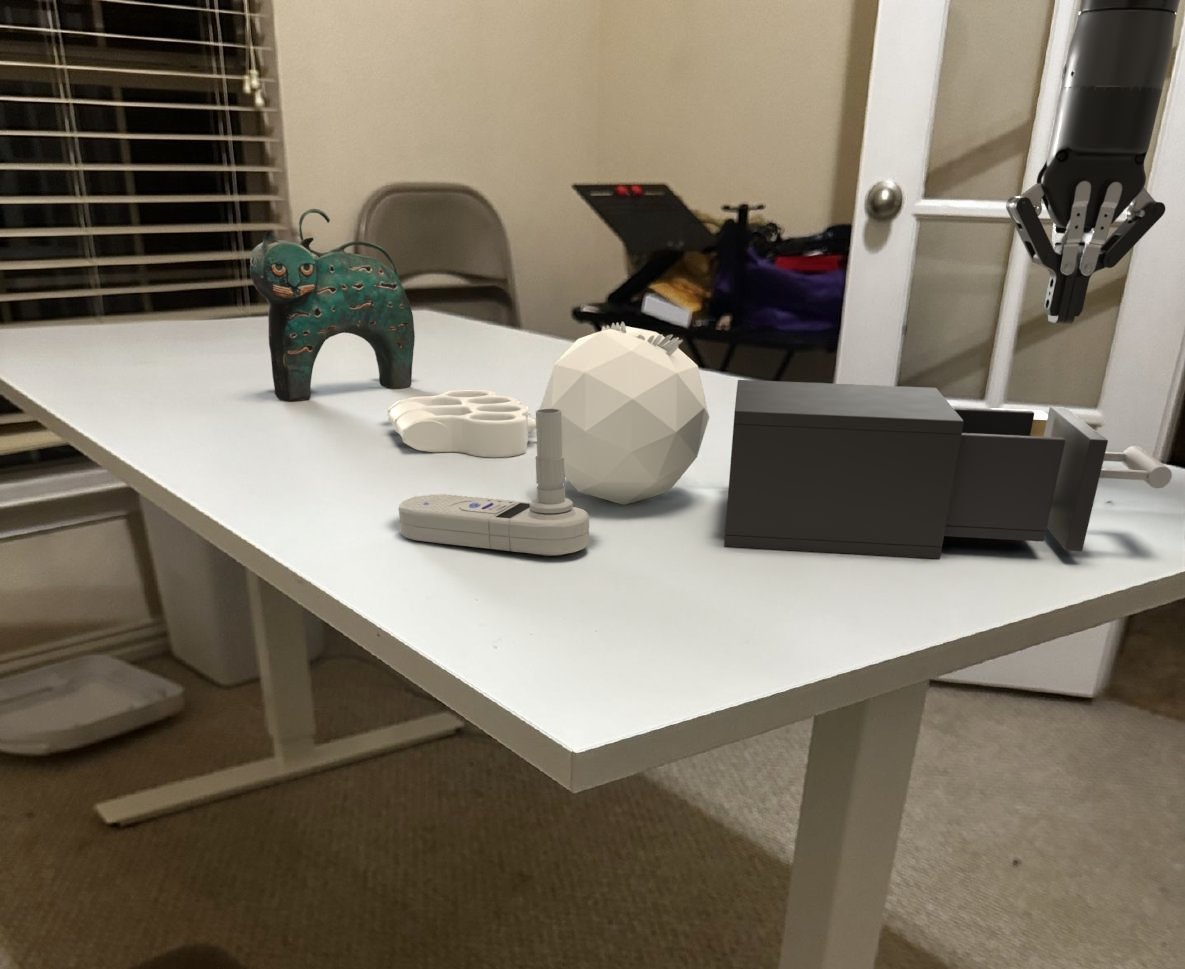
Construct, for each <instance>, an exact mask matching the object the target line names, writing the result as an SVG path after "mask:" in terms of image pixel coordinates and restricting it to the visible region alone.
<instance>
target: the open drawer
mask: <svg viewBox="0 0 1185 969" xmlns="http://www.w3.org/2000/svg"><path fill="white" fill-rule="evenodd" d="M952 408H953V409H954V410H955V411H956V412H957V414H958V415H959V416H960V417H961V419H962V420H963V421H964V423H963V429H962V434H961V441H960V447H959V452H958V458H957V464H956V470H955V476H954V481H953V487H952V493H951V499H950V504H949V510H948V516H947V522H946V527H945V533H944V537H953V538H970V539H988V540H990V539H991V540H1005V541H1007V540H1008V541H1025V542H1026V541H1027V542H1028V541H1029V542H1044V541H1045V537H1046V533H1047V530H1048V531H1049V533H1051V535H1052V536H1053V537H1054V538H1055V540H1056V541H1057V542H1058V543H1059V545H1060V546H1061V547H1062V548H1063V549H1064V550H1065V551H1068V552H1083V549H1084V545H1085V541H1086V536H1087V533H1088V529H1089V528H1088V527H1089V524H1090V520H1091V517H1092V516H1091V514H1092V511H1093V507H1094V502H1095V499H1096V494H1097V490H1098V485H1099V483H1100V482H1099V481H1100V479H1112V480H1113V479H1114V480H1131V481H1132V480H1133V481H1134V480H1135V481H1143V482H1145V484H1147V485H1149V486H1150V487H1151V488H1153V489H1163V488H1165V487H1166V486H1167V485H1169V484H1170V482H1171V481H1172V479H1173V478H1172V477H1173V472H1172V470H1171V469H1170V468H1169V467H1168V466H1166V465H1165V464H1164V463H1162V462H1161V461H1159V459H1158V458H1157V459H1156V458H1155V457H1154V456H1153V455H1151V454H1149V453H1148V452H1147V451H1145V450H1144V449H1143V448H1142V447H1140V446H1138V445H1132V446H1129V447H1127V448H1125V450H1124V451H1123V452H1122V451H1121V452H1118V451H1107V447H1108V443H1109V439H1107V438H1106V437H1104V435H1102V434H1101V433H1099V432H1098V431H1097V430H1095V428H1093V427H1091V425H1089V424H1088V423H1087V422H1085V421H1084V420H1082V419H1081V418H1080V417H1078V416H1077V415H1076V414H1075V413H1074V412H1072V411H1070V410H1069V409H1068V408H1066V407H1065V406H1049V409H1048V413H1047V415H1048V418H1047V423H1046V428H1045V432H1044V437H1040V436H1030V434H1031V429H1032V424H1033V419H1034V414H1035V413H1034V412H1033V411H1022V410H1023V409H1017V410H999V409H1000V408H994V409H990V408H974V407H971V408H970V407H953V406H952ZM1104 462H1115V463H1116V462H1119V463H1122V464H1123V465H1124V466H1125V467H1126V468H1127V469H1125V468H1123V469H1122V468H1106V467H1105V468H1103V464H1104Z"/></svg>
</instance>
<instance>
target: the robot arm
mask: <svg viewBox="0 0 1185 969" xmlns="http://www.w3.org/2000/svg"><path fill="white" fill-rule="evenodd" d="M1180 1H1181V0H1080V4H1079V9H1078V15H1077V17H1076V18H1077V19H1076V22H1075V26H1074V29H1073V32H1072V35H1071V38H1070V41H1069V45H1068V48H1067V52H1066V56H1065V57H1066V58H1065V61H1064V65H1063V68H1062V70H1061V75H1060V86H1059V92H1058V98H1057V102H1056V108H1055V111H1054V112H1055V113H1054V117H1053V123H1052V128H1051V132H1050V133H1051V134H1050V138H1049V143H1048V149H1047V156H1046V160H1045V163H1044V164H1043V166H1042V167H1041V169H1040V170H1039V172H1038V174H1037V177H1036V183H1034V185H1032V186H1030V187H1029V188H1028V189H1027V190H1025V191H1024V192H1023V193H1022V194H1020V195H1017V196H1014V195H1013V196H1011V197H1010V198H1008V199H1007V201H1006V203H1005V209H1006V211H1007V213H1008V215H1009V218H1010V219H1011V222H1012V224H1013V225H1014V227H1015V229H1016V231H1017V234H1018V236H1019V238H1020V240H1021V242H1022V244H1023V246H1024V248H1025V250H1026V252H1027V254H1028V257H1029V258H1030V261H1031V262H1032V263H1034V264H1035V265H1038V266H1041V267H1042V268H1044V269H1046V270H1047V271H1048V272H1049V273H1048V274H1049V278H1048V283H1047V288H1046V293H1045V299H1044V303H1043V313H1044V315H1047V321H1048V322H1050V323H1052V324H1062V325H1063V324H1065V325H1072V324H1073V323H1074V322H1075V318H1076V317H1080V315H1081V313H1082V312H1083V310H1084V305H1085V302H1086V296H1087V292H1088V287H1089V282H1090V279H1091V277H1092V275H1093V274H1094V273H1096V272H1099V271H1101V270H1103V269H1112V268H1114V267H1115V266H1116V265H1118V263H1119V262H1120V261H1122V259H1123V258H1124V257H1125V256H1126V255H1127V254H1128V253H1129V252H1130V251H1131V250H1132V248H1134V247H1135V245H1136V244H1137V243H1138V242H1139V241H1140V240H1141V239H1142V238H1143V237H1144V236H1145V235H1146V234H1147V233H1148V232H1149V231H1150V229H1152V228H1153V227H1154V225H1155V224H1156V223H1157V222H1158V221H1159V220H1160V219H1161V218H1162V217H1163V216H1164V214H1165V212H1166V205H1165V203H1164V202H1161V201H1156V200H1155V199H1154V198H1153V197H1152V196H1151V194H1150V193H1149V191H1148V190H1147V189H1146V188H1145V185H1146V181H1147V175H1146V170H1145V160H1146V157H1147V154H1148V152H1149V148H1150V144H1151V141H1152V137H1153V132H1154V127H1155V123H1156V118H1157V114H1158V111H1159V107H1160V103H1161V98H1162V94H1163V88H1164V84H1165V81H1166V77H1167V72H1168V68H1169V64H1170V60H1171V56H1172V51H1173V42H1174V35H1175V34H1174V33H1175V26H1176V20H1177V13H1178V10H1179V5H1180ZM1042 203H1043V204H1044V207H1045V209H1046V211H1047V214H1048V216H1049V219H1050V221H1051V222H1052V223H1053V224H1052V230H1051V240H1050V238H1049V236H1048V234H1047V232H1046V230H1045V228H1044V226H1043V224H1042V222H1041V219H1040V218H1039V216H1041V213H1042V211H1043V206H1042ZM1125 210H1126V212H1125V218H1126V219H1125V220H1123V221H1122V222H1121V224H1120V225H1119V226H1118V227H1117V228H1116V229H1115V230H1114V231H1113V232H1112V233H1111V234H1110V236H1109V232H1110V229H1111V225H1112V224H1114V222H1116V220H1118V218H1119V217H1120V216H1121V215H1122V214H1123V212H1124V211H1125Z"/></svg>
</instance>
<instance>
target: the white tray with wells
mask: <svg viewBox="0 0 1185 969" xmlns="http://www.w3.org/2000/svg"><path fill="white" fill-rule="evenodd" d="M529 416H530V413H529V407H528V405H524V404H522V402H521V400H519V399H516V398H514V397H512V396H503V395H499V394H497V393H496V391H493V390H486V389H454V390H448V391H445V392H443V393H441V394H438V395H429V396H413V397H408V398H403V399H399V400H398V401H396V402H395V403H394V404H392V405H391V406H389V407H387V417H388V418H387V420H388V422H389V423H391V424H392V425H393V427H394V430H395V432H396V433H397V434H399V435H400V437H401V439H402V442H403V443H404V444H406V445H407V446H409V447H411V448H412V449H415V450H416V451H420V452H427V453H449V452H450V453H463V454H467V455H470V456H473V457H480V458H511V457H516V456H520V455H523V454H525V453H526V452H527V450H528V443H529V433H532V432H533V431H536V419H534V418H532V417H529Z"/></svg>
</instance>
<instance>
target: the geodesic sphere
mask: <svg viewBox="0 0 1185 969" xmlns="http://www.w3.org/2000/svg"><path fill="white" fill-rule="evenodd" d="M673 336H674V334H668V335H666V336H664V335H663V334H662V333H661V334H660V333H659V332H657V331H653V330H648V329H644V328H638V327H631V326H627V325H626V324H625V322H624V321H621V323H619V322H616V323H614V322H612V323H611V325H610V326H609V325H608V324H607V325H606V327H605V326H602V327H601V330H600V331H597V332H594V333H591V334H588V335H585V336H582V337H579V338H577V339H576V340H575V341H574V342H573V343H572V344H571V346H570V347H569V348H568V349H567V350H566V351H565V352H563V354H562V356H561V357H559V358H558V360H557V361H555V363H554V364H553V368H552V371H551V374H550V376H549V379H548V382H547V385H546V388H545V391H544V394H543V397H542V400H541V404H540V406H539V409H559V410H561V426H562V455H563V456H564V473H565V479H566V480H567V481H568V482H569V483H570V484H571V485H572V486H573V487H574V488H575V489H576V490H577V491H578V492H579V493H582V494H585V495H588V496H592V497H595V498H599V499H603V500H606V501H609V502H613V503H616V504H618V505H619V504H620V505H624V506H625V505H628V504H632V503H635V502H638V501H642V500H645V499H646V500H647V499H649V498H652V497H656V496H660V495H663V494H667V493H669V492H670V491H671V490H672V489H673V487H674V486H675V485H676V484H677V483H678V481H679V480H680V479H681V478H682V476H684V474H685V473H686V471H687V470H688V469H689V468H690V466H691V465H692V464H693V463H694V462H695V460H696V459H697V458H698V455H699V452H700V449H701V447H702V442H703V440H704V436H705V433H706V430H707V426H708V423H709V420H710V413H709V409H708V404H707V400H706V396H705V391H704V387H703V383H702V378H701V374H700V370H699V369H700V368H699V365H698V364H697V363H695V361H693V360H692V359H691V358H690V357H689V356H688V355H687V354H685V353H684V352H683V351H682V350H681V349H680V348H679V345H681V344H682V343H683V341H684V339H680V338H679V337H674V338H672V337H673Z"/></svg>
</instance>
